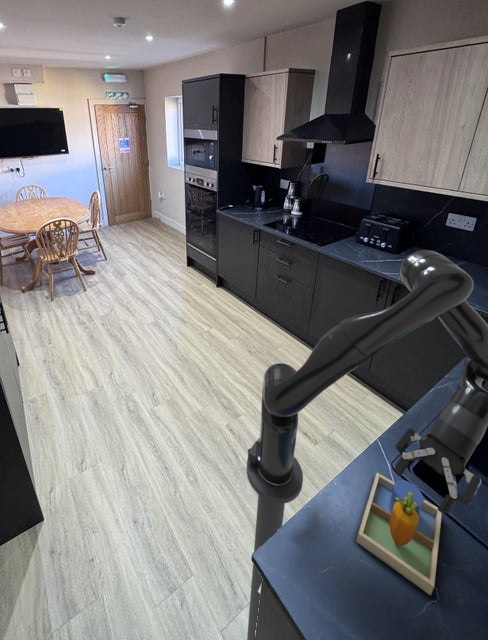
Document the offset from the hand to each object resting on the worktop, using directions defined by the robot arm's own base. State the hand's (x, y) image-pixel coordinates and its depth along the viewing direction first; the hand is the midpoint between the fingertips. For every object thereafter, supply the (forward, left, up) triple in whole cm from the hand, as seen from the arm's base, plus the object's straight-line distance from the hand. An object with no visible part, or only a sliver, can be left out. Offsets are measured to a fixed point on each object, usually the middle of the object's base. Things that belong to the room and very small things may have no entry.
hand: (418, 492), depth 70 cm
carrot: (-1, -3, -15) cm, 15 cm away
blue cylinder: (-1, +5, -14) cm, 15 cm away
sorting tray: (-1, +1, -15) cm, 15 cm away
